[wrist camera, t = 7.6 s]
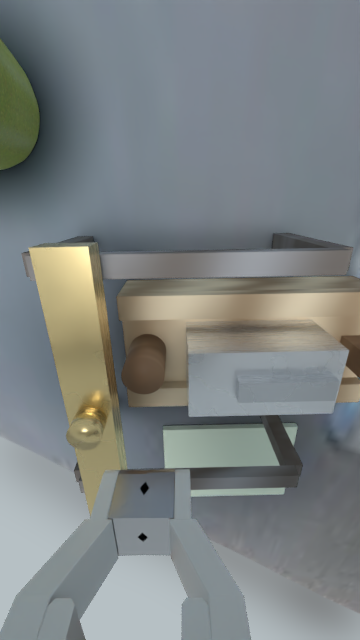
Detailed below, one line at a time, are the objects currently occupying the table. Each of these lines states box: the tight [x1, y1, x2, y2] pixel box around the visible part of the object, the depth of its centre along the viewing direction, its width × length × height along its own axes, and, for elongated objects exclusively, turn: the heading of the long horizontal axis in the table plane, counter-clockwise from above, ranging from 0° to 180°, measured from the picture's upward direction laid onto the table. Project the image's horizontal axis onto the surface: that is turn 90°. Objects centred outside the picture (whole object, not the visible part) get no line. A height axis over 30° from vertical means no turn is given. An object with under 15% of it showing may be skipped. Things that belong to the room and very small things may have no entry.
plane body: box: [21, 233, 360, 493], centre depth 17 cm, size 19×14×8 cm
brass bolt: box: [29, 242, 127, 516], centre depth 12 cm, size 2×15×2 cm, turn 1°
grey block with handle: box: [186, 319, 349, 417], centre depth 16 cm, size 8×4×5 cm, turn 91°
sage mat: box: [163, 423, 298, 497], centre depth 26 cm, size 12×9×1 cm
